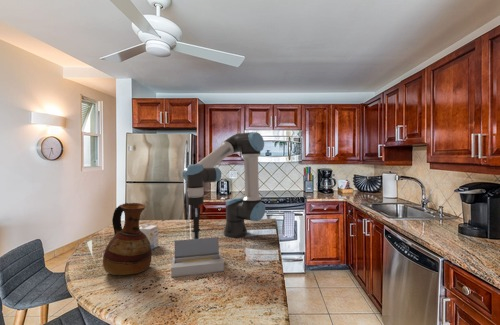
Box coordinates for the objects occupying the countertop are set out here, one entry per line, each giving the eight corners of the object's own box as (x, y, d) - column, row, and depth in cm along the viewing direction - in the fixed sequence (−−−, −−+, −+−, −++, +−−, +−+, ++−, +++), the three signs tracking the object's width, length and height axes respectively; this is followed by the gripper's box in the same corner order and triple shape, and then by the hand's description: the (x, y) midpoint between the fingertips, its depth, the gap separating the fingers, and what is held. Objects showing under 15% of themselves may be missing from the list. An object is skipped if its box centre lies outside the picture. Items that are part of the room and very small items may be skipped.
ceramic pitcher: (129, 284, 107) (127, 208, 106) (91, 277, 114) (89, 206, 113) (161, 265, 125) (160, 201, 125) (127, 260, 132) (126, 199, 132)
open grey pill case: (220, 259, 131) (220, 251, 131) (224, 271, 117) (223, 262, 117) (173, 264, 126) (172, 256, 126) (171, 277, 112) (171, 267, 112)
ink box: (150, 250, 146) (149, 226, 145) (136, 249, 147) (135, 225, 147) (158, 245, 154) (158, 222, 154) (145, 244, 156) (144, 221, 155)
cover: (219, 254, 126) (218, 254, 127) (218, 237, 128) (218, 237, 129) (174, 258, 122) (174, 258, 122) (174, 240, 123) (174, 240, 124)
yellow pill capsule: (213, 256, 125) (214, 261, 122) (213, 261, 126) (214, 266, 123) (180, 260, 121) (180, 264, 118) (180, 265, 122) (180, 270, 120)
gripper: (187, 194, 136) (188, 241, 136) (187, 198, 123) (188, 249, 124) (202, 194, 138) (203, 240, 138) (204, 197, 125) (205, 248, 125)
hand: (196, 244), depth 131 cm, fingers closed
